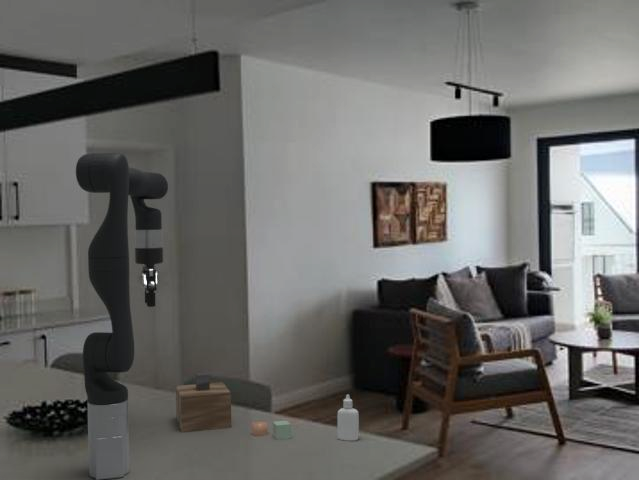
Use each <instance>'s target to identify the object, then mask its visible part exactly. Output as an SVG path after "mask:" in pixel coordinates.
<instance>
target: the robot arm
mask: <svg viewBox="0 0 639 480" xmlns="http://www.w3.org/2000/svg"><path fill="white" fill-rule="evenodd" d="M75 177H76V181H77V184H78V186H79V187H80V188H81V190H83V191H85V192H88V193H93V194H95V193H96V194H98V193H99V194H103V193H106V194H107V193H109V202H108V207H107V208H108V209H107V212H106V215H105V217H104V220H103V221H102V223H101V225H100V226H99V228H98V230H97V231H96V232H95V234H94V236H93V238H92V240H91V242H90V244H89V246H88V251H87V260H88V261H87V262H88V266H87V267H88V268H87V269H88V279H89V281H90V284H91V286H92V287H93V289H94V291H95V293H96V294H97V296H98V297H99V298H100V300H101V301H102V303H103V304H104V306H105V308H106V310H107V312H108V315H109V318H110V322H111V324H110V325H111V328H112V329H111V331H112V332H108V331H107V332H106V331H105V332H103V331H102V332H99V331H96V332H91V333H90V334H88V335H87V336H86V338H85V339H84V340H85V341H84V343H83V348H82V367H83V377H84V389H85V393H86V397H87V436H88V437H87V445H88V447H87V448H88V475H89V477H91V478H94V479H95V480H108V479H118V478H123V477H124V476H125V475H126V474H128V473H129V472H130V437H129V436H130V434H129V433H130V432H129V430H130V429H129V425H130V424H129V390H128V387H127V386H126V385H124V384H122V383H120V382H118V381H117V380H115V379H113V377H111V376H110V374H109V373H127V372H128V371H129V370H130V369H131V367H132V366H133V364H134V360H135V340H134V331H133V321H132V313H131V312H132V311H131V295H130V294H131V293H130V250H129V232H128V231H129V229H128V227H129V226H128V221H129V220H128V218H129V217H128V213H129V212H128V211H129V197H130V200H131V202H132V206H133V211H134V216H135V235H134V256H135V257H134V262H135V264H137V265H143V266H142V269H143V270H142V269H141V277H142V279H141V280H142V286H143V290H144V303H145V304H146V306H147V307H148V308H151V307H152V308H153V307H156V293H157V289H158V288H157V286H158V278H157V277H158V270H157V269H156V268H155V265H158V264H162V263H163V262H164V239H163V238H164V237H163V232H162V231H163V230H162V225H163V224H162V221H163V220H162V212H161V211H162V210H160V209H158V208H157V207H156V208H154V207H150V206H148V205H147V203H145V200H160V199H162V198H164V197H165V196H166V194H168V190H169V184H168V181H167V178H166V177H165V176H164V175H163V174H162V173H158V172H150V171H148V172H147V171H143V170H139V169H137V168H134V167H129V162H128V159H127V157H126V155H125V154H124V153H121V152H91V153H86V154H83V155H81V156H80V157H79V158H78V160H77V162H76V166H75Z"/></svg>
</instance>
